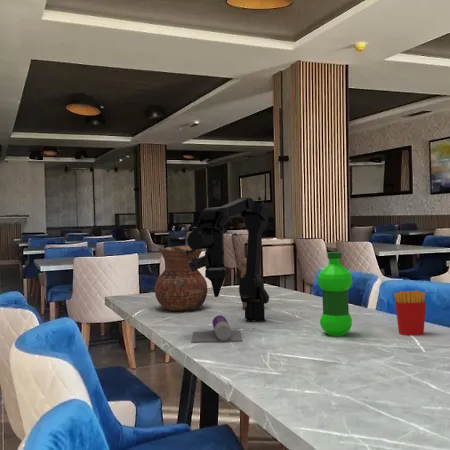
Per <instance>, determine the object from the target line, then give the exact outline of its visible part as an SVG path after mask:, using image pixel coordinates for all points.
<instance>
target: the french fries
mask: <svg viewBox="0 0 450 450" xmlns="http://www.w3.org/2000/svg"><path fill="white" fill-rule="evenodd" d="M425 295H426V292H425V291H423V292H422V291H419V290H418V289H416V290H405V291H403V290H400V291H399V292H394V293H393V296H394V299H395V302H394V305H395V311H396V320H397V328H398V334H400V335H402V336H419V335H424V332H425V323H426V322H425V321H426V311H427V310H426V309H427V302H426V301H425V298H426V297H425Z"/></svg>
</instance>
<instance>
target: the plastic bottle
mask: <svg viewBox="0 0 450 450" xmlns="http://www.w3.org/2000/svg"><path fill="white" fill-rule="evenodd" d="M327 259H329V260H328V261H329V263H328V264H327V265H326V266H324V268H323V269H322V270H320V272H319V274H318V277H317V284H318V288H320V289H321V290H322V315H321V317H320V320H319V325H320V327H321V329H322V330H323V331H324V332H325V333H326V334H327V335H328V336H331V337H332V336H333V337H341V336H345V335H346V334H347V333H348V332H349V331H350V330H351V328H352V325H353V319H352V316H351V314H350V312H349V309H350V308H349V290H350V288H351V287H352V283H353V275H352V273H351V271H349V270H348V269H347V268H346V267H345V266H344V265H343V264H341V259H342V251H328V252H327Z"/></svg>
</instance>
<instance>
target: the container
mask: <svg viewBox="0 0 450 450" xmlns="http://www.w3.org/2000/svg"><path fill="white" fill-rule="evenodd" d="M212 327H213V331H215V333H216V335H217V337H218V338H219V339H220V340H227V339H229V338H230V336H231V331H232V330H231V327H230V325H229V322H228V320H227V319H226V317H225V316H223V315H216V316H214V318H213V319H212Z"/></svg>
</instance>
